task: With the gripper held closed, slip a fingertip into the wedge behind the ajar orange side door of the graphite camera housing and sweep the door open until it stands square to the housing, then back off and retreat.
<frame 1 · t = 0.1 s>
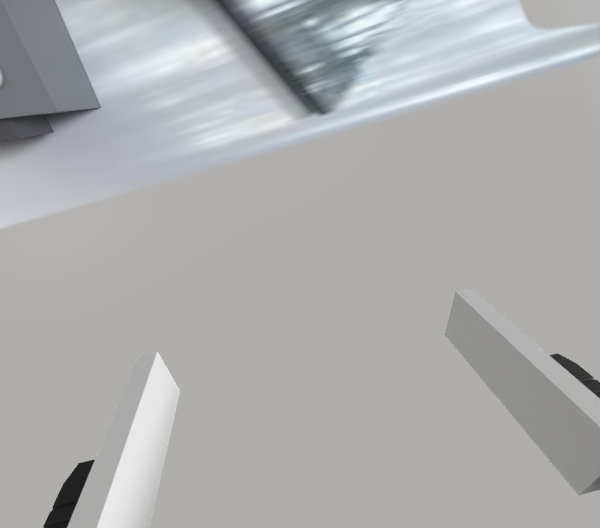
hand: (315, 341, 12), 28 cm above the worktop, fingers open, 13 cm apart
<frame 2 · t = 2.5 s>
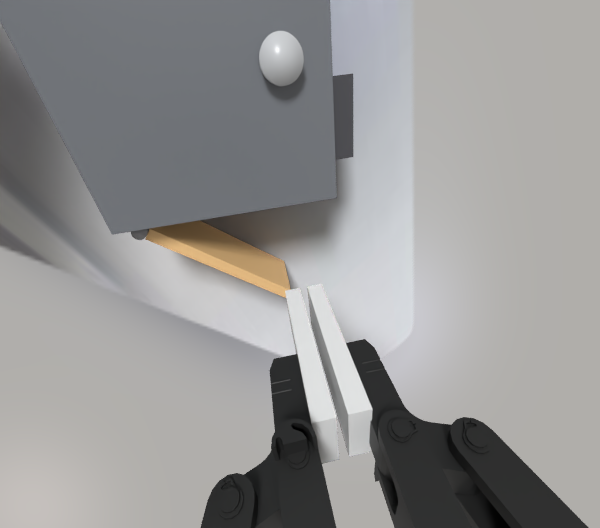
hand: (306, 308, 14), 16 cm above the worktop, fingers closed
camera housing: (215, 114, 23), on the worktop
side door: (222, 250, 26), point 3 cm above the worktop, hinge at 40.0°
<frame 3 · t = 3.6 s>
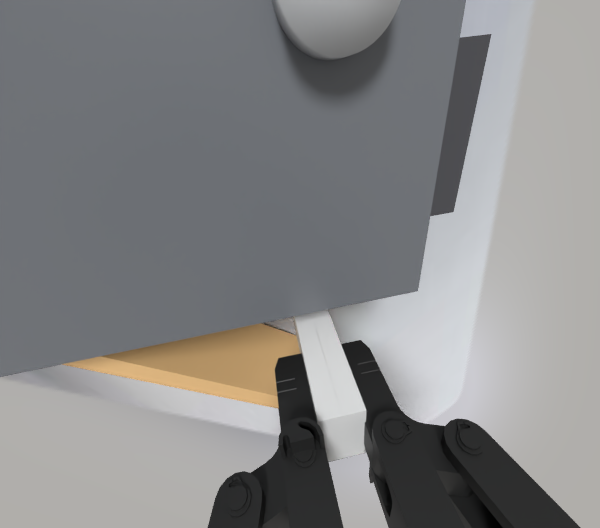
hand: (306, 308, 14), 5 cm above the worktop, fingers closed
camera housing: (184, 121, 13), on the worktop
side door: (201, 343, 16), point 3 cm above the worktop, hinge at 40.0°
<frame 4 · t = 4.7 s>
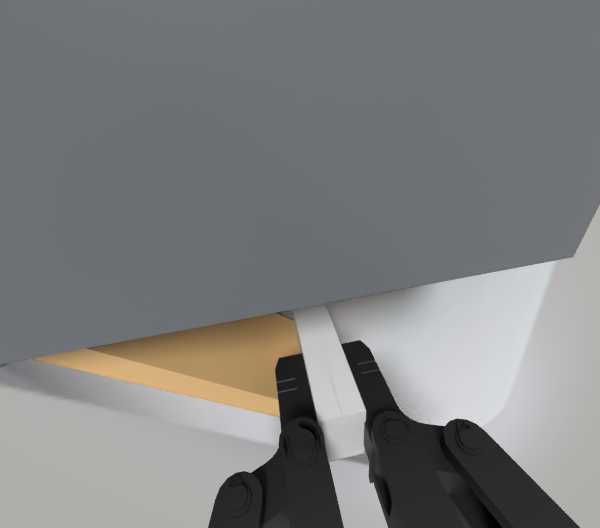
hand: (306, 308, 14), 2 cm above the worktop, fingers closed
camera housing: (217, 37, 10), on the worktop
side door: (225, 340, 13), point 3 cm above the worktop, hinge at 41.2°, touching gripper
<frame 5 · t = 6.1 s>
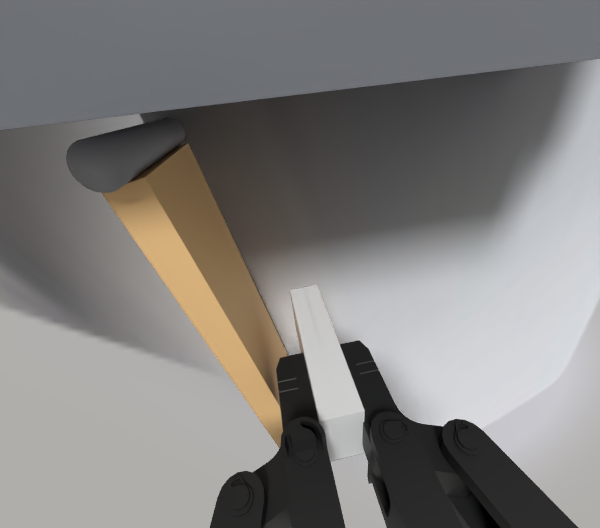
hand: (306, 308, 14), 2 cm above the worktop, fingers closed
side door: (235, 305, 11), point 3 cm above the worktop, hinge at 80.0°, touching gripper
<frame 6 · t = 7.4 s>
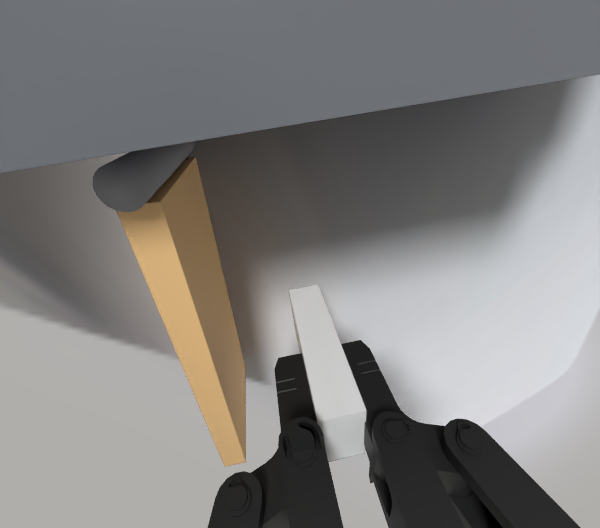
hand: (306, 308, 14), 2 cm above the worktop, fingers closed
side door: (208, 317, 12), point 3 cm above the worktop, hinge at 94.7°
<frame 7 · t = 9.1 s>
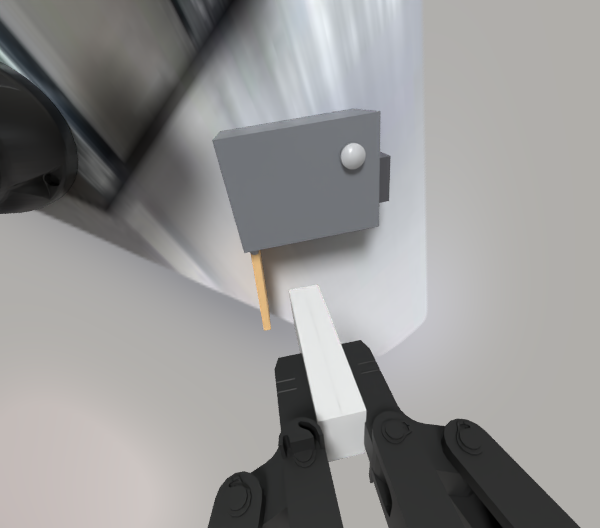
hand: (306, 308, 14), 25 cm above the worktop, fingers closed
camera housing: (295, 171, 36), on the worktop
side door: (260, 280, 39), point 3 cm above the worktop, hinge at 94.7°
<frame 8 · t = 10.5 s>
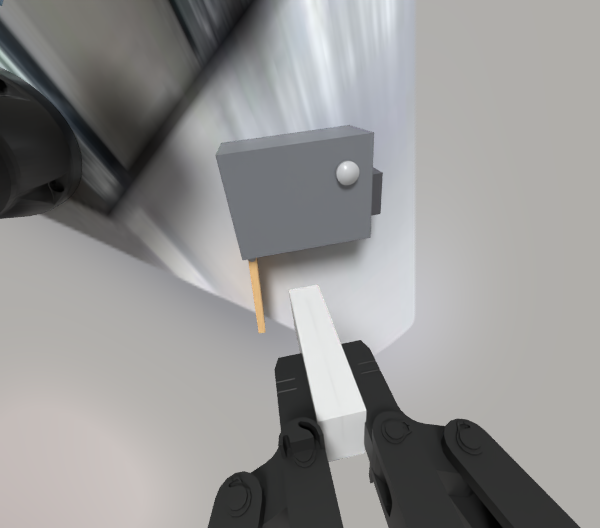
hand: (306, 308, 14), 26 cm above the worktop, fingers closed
camera housing: (292, 182, 37), on the worktop
side door: (256, 285, 41), point 3 cm above the worktop, hinge at 94.7°
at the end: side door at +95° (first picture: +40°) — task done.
